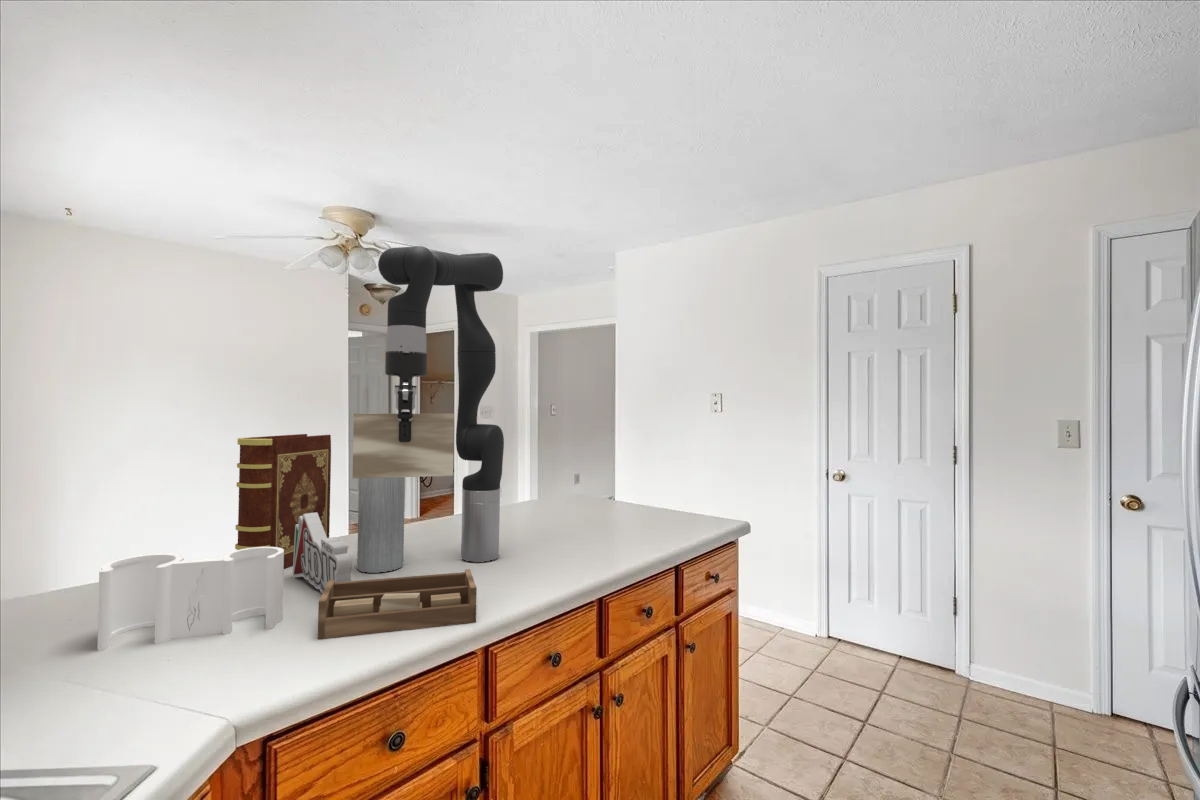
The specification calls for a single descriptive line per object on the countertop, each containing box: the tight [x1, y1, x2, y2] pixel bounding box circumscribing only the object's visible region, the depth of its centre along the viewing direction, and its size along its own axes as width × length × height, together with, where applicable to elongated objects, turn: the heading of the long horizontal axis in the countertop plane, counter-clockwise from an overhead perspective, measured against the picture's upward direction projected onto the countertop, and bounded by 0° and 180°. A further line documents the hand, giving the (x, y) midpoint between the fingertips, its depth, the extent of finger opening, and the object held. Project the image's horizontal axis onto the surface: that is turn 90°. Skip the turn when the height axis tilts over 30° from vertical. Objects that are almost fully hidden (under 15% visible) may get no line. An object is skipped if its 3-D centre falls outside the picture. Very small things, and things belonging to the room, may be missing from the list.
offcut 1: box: [333, 598, 374, 617], centre depth 94 cm, size 3×6×4 cm, turn 109°
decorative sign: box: [291, 512, 353, 594], centre depth 115 cm, size 23×3×15 cm, turn 47°
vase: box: [356, 477, 406, 574], centre depth 130 cm, size 10×10×27 cm
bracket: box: [96, 547, 285, 651], centre depth 93 cm, size 25×10×12 cm, turn 112°
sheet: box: [351, 412, 455, 479], centre depth 107 cm, size 2×18×12 cm, turn 109°
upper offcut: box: [381, 593, 420, 611], centre depth 97 cm, size 3×6×2 cm, turn 98°
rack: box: [317, 568, 478, 640], centre depth 99 cm, size 12×25×6 cm, turn 109°
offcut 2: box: [431, 593, 461, 607], centre depth 99 cm, size 3×5×4 cm, turn 108°
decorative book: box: [234, 433, 332, 570], centre depth 132 cm, size 22×8×30 cm, turn 168°
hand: (404, 441), depth 107 cm, fingers closed on sheet, 2 cm apart
